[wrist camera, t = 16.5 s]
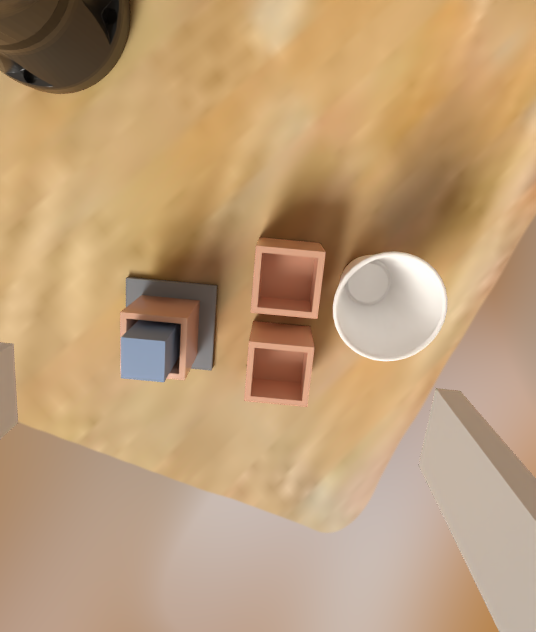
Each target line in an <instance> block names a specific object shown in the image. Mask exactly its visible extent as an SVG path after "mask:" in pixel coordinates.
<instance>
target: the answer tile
mask: <svg viewBox="0 0 536 632" xmlns="http://www.w3.org/2000/svg"><path fill="white" fill-rule="evenodd" d="M141 295H147V296H157V297H168V298H179V299H189V300H200V308H199V329H198V350H197V357H196V359H195V361H194V363H193V365H192V367H191V368H192V369H202V370H212V366H213V349H214V332H215V315H216V298H217V285H209V284H198V283H187V282H176V281H166V280H155V279H144V278H134V277H127V278H126V307H127V306H128V305H130V304H131V303H132V302H134V301H135V300H136V299H137V298H139V297H140V296H141Z"/></svg>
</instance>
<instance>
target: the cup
mask: <svg viewBox="0 0 536 632" xmlns="http://www.w3.org/2000/svg"><path fill="white" fill-rule="evenodd" d="M447 300H448V299H447V293H446V288H445V286H444V283H443V281H442V278H441V277H440V276H439V274H438V273H437V271H436V270H435V269H434V268H433V267H432V266H431V265H430V264H429V263H428V262H426V261H425V260H423V259H421V258H420V257H418V256H415V255H412V254H409V253H405V252H397V251H392V252H382V253H379V254H375V255H365V256H361V257H358V258H356V259H354V260H353V261H351V262H350V263H349V264H348V265H347V266H346V267H345V269H344V271H343V272H342V275H341V278H340V283H339V285H338V288H337V291H336V293H335V296H334V302H333V318H334V322H335V326H336V329H337V331H338V333H339V335H340V337H341V338H342V339H343V341H344V342H345V343H346V345H347V346H349V347H350V348H351V349H352V350H353V351H355V352H356V353H358V354H360V355H362V356H364V357H366V358H369V359H373V360H378V361H396V360H400V359H404V358H407V357H410V356H412V355H414V354H416V353H418V352H419V351H421V350H422V349H424V348H425V347H427V346H428V345H429V344H430V343H431V342H432V341H433V340H434V338H435V337H436V336H437V334H438V333H439V331H440V330H441V327H442V325H443V323H444V321H445V317H446V313H447Z"/></svg>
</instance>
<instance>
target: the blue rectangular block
mask: <svg viewBox="0 0 536 632" xmlns="http://www.w3.org/2000/svg"><path fill="white" fill-rule="evenodd" d="M180 336H181V324H179V323H168V322H158V321H147V320H138V321H137V322H136V323H135V324H134V325H133V326H132V327H131V328H130V329H129V330H128V331H127V332H126V333H125V334H124V335H123V336H122V337H121V378H125V379H136V380H146V381H157V382H165V380H166V378H167V376H168V375H169V373H170V371H171V370H172V368H173V366H174V365H175V363H176V361H177V360H178V358H179V356H180Z"/></svg>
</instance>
